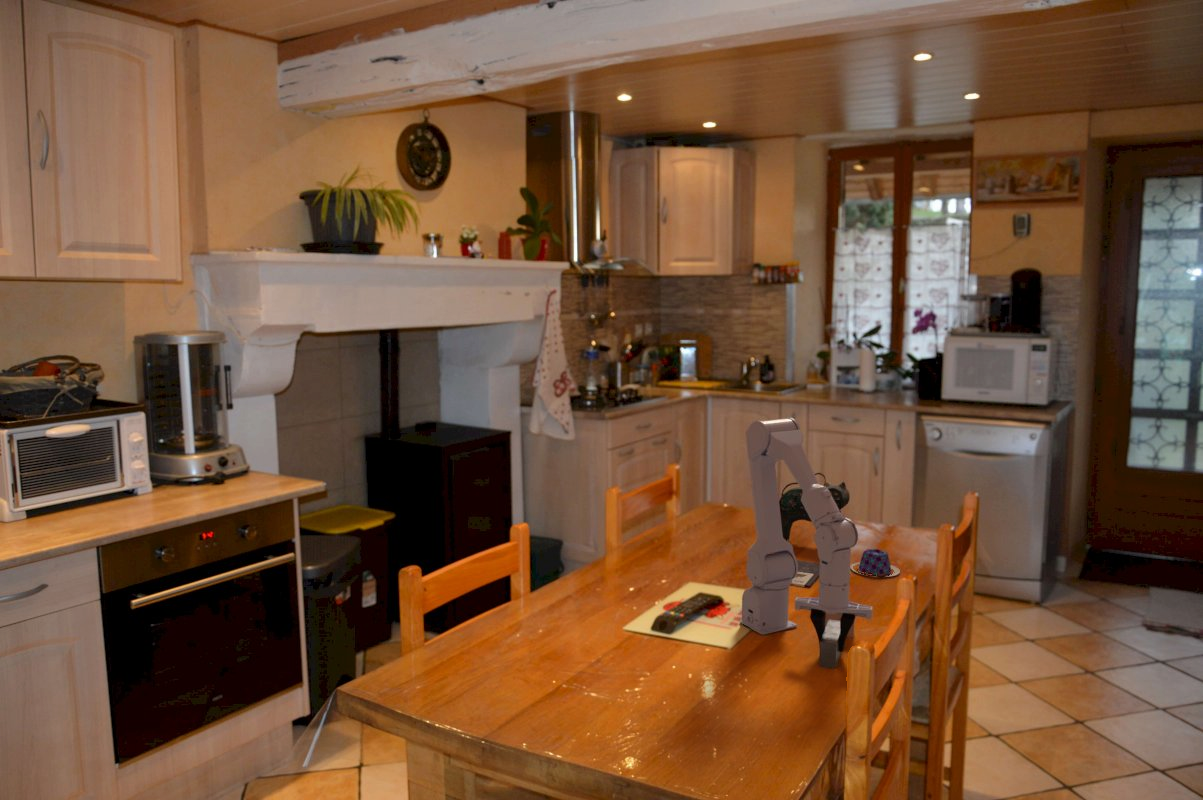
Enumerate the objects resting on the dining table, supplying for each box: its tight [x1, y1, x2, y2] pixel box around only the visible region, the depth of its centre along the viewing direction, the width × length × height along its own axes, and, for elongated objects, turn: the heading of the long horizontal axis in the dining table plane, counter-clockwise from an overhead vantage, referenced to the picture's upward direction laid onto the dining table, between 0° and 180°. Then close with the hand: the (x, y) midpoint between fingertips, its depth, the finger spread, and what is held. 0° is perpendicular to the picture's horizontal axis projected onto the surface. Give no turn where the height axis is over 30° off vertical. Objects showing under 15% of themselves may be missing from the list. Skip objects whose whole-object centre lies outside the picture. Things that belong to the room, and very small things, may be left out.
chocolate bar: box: [789, 559, 820, 589], centre depth 227 cm, size 9×1×18 cm
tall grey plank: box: [818, 620, 842, 670], centre depth 179 cm, size 12×3×5 cm, turn 158°
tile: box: [825, 613, 856, 638], centre depth 189 cm, size 2×6×7 cm, turn 68°
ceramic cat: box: [779, 472, 851, 541], centre depth 252 cm, size 20×6×20 cm, turn 58°
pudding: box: [850, 548, 901, 578], centre depth 230 cm, size 12×12×5 cm
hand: (831, 648), depth 179 cm, fingers closed on tall grey plank, 3 cm apart
